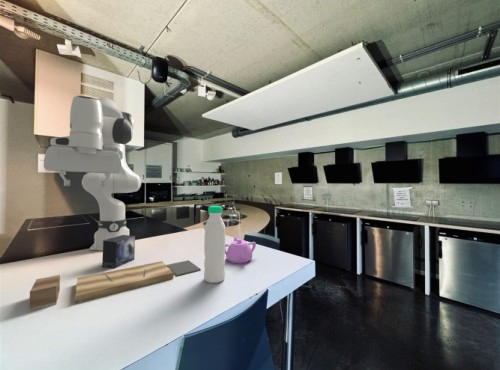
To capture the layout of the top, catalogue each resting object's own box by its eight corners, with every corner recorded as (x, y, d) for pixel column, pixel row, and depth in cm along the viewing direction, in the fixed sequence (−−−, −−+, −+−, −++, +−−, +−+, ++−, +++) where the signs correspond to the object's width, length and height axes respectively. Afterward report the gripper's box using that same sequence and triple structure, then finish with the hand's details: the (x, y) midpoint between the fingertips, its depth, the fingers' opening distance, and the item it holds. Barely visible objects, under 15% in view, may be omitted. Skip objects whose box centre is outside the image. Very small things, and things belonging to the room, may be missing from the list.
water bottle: (199, 279, 72) (200, 206, 72) (216, 273, 77) (216, 204, 77) (212, 286, 67) (213, 207, 67) (229, 279, 72) (229, 206, 73)
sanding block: (36, 296, 60) (36, 279, 60) (59, 291, 63) (59, 274, 63) (29, 311, 53) (29, 291, 53) (56, 305, 56) (56, 286, 56)
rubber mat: (166, 266, 84) (166, 264, 84) (188, 261, 89) (188, 260, 89) (176, 276, 74) (176, 274, 74) (200, 270, 80) (200, 269, 80)
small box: (115, 268, 81) (115, 241, 81) (101, 267, 82) (101, 240, 82) (135, 259, 91) (135, 235, 91) (122, 258, 93) (123, 234, 93)
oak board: (77, 284, 68) (77, 278, 68) (161, 266, 84) (162, 261, 84) (75, 303, 57) (75, 295, 57) (173, 278, 73) (173, 272, 73)
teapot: (234, 253, 101) (234, 234, 101) (260, 258, 93) (260, 238, 94) (218, 260, 90) (218, 240, 91) (245, 267, 83) (246, 244, 83)
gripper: (121, 149, 79) (121, 186, 79) (46, 142, 67) (45, 185, 66) (124, 146, 74) (123, 186, 74) (43, 137, 62) (42, 185, 61)
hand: (85, 186), depth 70 cm, fingers open, 8 cm apart
